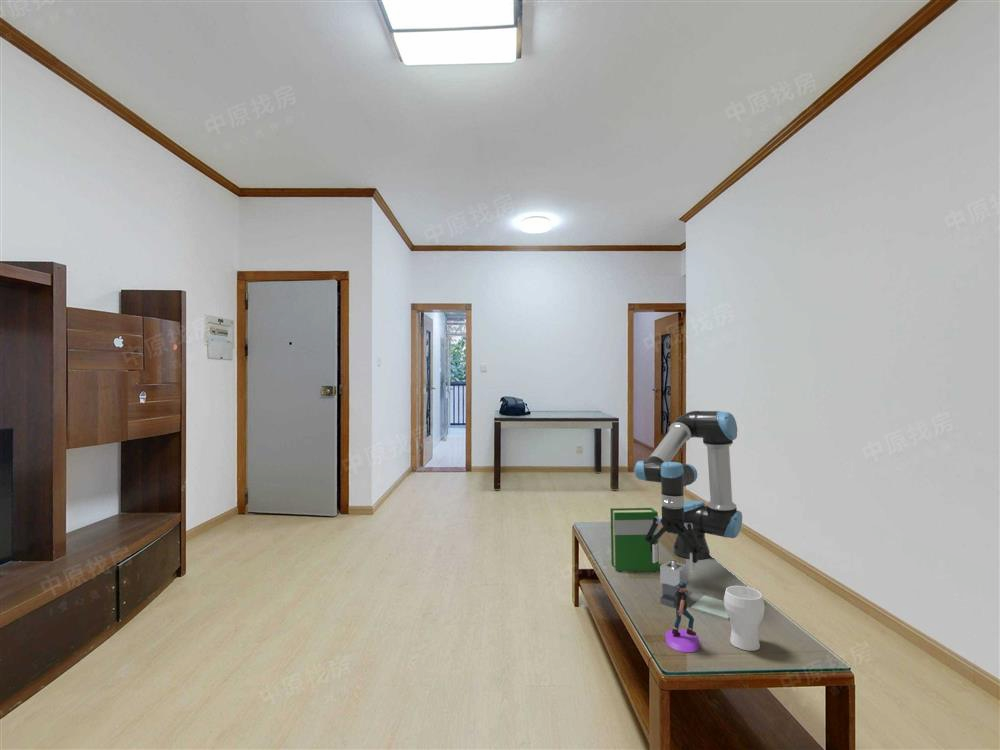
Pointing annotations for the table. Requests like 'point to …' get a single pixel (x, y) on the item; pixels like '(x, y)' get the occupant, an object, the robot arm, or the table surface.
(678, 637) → the figurine
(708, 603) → the mat
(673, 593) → the vise
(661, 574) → the grey hollow block
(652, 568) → the hardback book
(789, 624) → the table surface
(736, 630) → the cup
